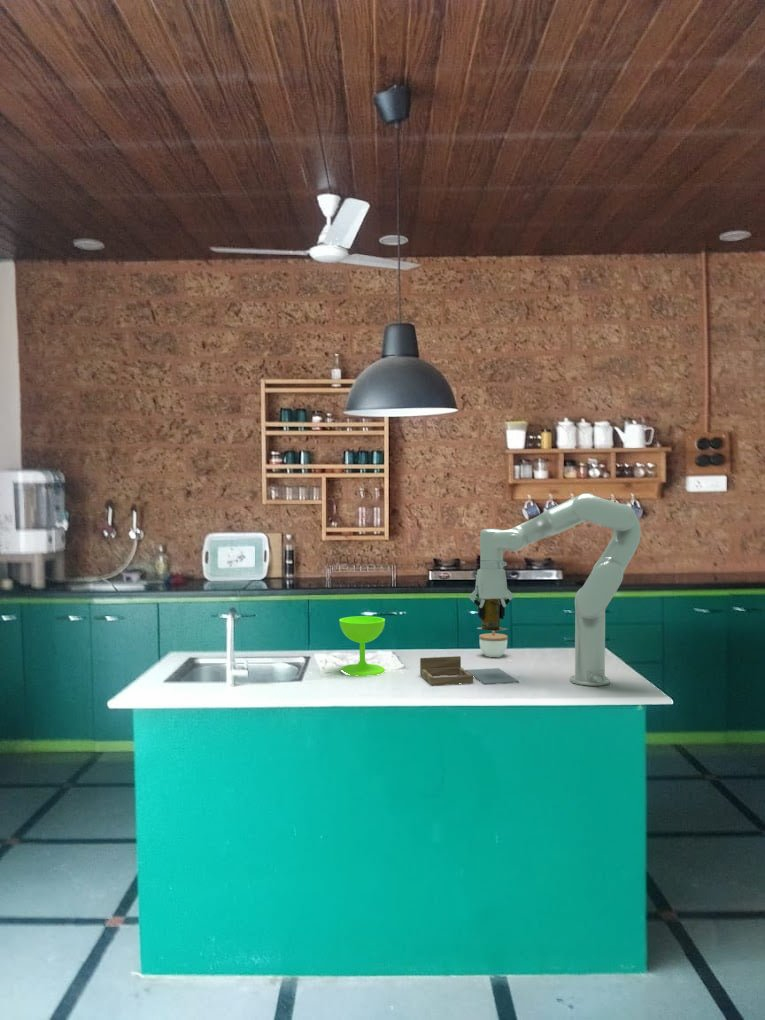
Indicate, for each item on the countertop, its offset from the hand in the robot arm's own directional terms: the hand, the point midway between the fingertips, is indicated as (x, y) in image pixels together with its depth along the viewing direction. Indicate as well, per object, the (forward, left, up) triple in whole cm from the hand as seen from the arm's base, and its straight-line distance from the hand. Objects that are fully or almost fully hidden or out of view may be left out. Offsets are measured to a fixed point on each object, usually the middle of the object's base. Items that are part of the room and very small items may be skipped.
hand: (491, 618), depth 285 cm
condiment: (0, 0, -4) cm, 4 cm away
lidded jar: (+33, -12, -20) cm, 40 cm away
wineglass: (+18, +41, -20) cm, 49 cm away
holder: (-1, +16, -20) cm, 25 cm away
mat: (0, 0, -20) cm, 20 cm away
